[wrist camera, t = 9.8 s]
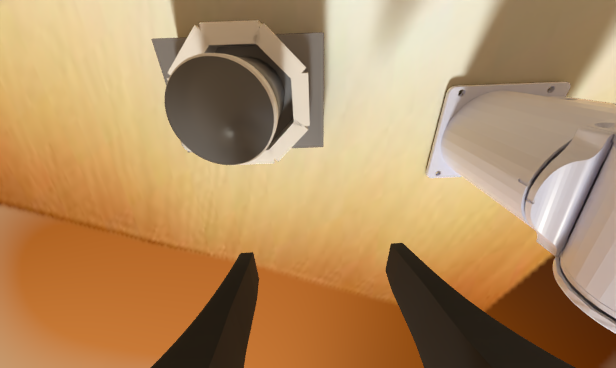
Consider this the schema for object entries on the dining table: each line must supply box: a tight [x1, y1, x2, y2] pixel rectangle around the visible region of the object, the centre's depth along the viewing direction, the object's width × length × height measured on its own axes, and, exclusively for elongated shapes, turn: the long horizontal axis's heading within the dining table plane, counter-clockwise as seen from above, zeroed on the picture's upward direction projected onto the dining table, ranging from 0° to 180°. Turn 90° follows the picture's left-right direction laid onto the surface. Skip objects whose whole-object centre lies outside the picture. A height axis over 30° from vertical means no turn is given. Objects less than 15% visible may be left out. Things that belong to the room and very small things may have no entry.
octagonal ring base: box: [152, 20, 324, 165], centre depth 15 cm, size 10×8×4 cm
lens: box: [165, 53, 285, 165], centre depth 12 cm, size 5×5×6 cm
